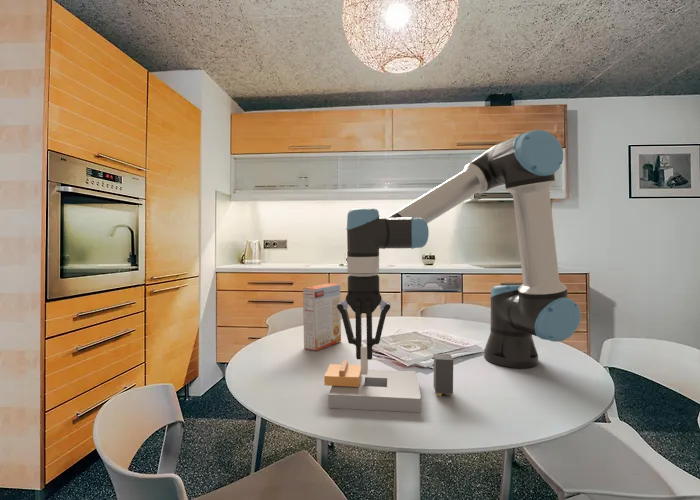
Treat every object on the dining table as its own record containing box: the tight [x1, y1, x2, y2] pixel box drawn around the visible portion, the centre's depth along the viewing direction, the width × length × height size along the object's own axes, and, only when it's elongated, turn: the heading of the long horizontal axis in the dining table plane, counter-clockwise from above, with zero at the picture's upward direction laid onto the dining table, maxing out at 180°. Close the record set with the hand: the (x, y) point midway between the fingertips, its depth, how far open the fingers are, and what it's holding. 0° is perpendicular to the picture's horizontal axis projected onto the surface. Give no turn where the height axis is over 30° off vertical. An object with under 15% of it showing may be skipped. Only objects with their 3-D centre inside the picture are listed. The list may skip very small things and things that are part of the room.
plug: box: [433, 353, 454, 397], centre depth 87 cm, size 4×4×9 cm
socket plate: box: [328, 369, 422, 414], centre depth 87 cm, size 20×16×3 cm
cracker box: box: [302, 282, 342, 352], centre depth 126 cm, size 14×6×21 cm, turn 144°
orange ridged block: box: [323, 359, 361, 387], centre depth 88 cm, size 8×8×3 cm
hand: (364, 372), depth 87 cm, fingers closed
